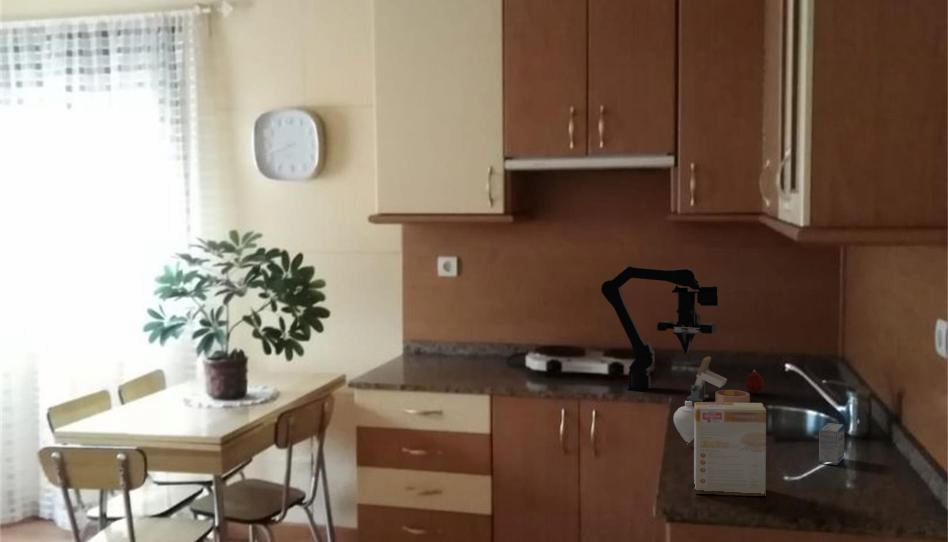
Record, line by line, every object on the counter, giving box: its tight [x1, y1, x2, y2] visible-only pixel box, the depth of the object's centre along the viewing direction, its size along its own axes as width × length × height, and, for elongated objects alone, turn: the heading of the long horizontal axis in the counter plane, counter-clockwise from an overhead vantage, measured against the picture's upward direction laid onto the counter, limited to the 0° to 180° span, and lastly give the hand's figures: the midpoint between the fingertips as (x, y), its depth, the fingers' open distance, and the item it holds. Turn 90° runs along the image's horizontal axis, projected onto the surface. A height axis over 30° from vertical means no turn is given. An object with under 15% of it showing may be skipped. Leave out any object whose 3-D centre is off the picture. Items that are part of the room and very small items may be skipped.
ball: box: [723, 389, 735, 396], centre depth 294 cm, size 4×4×4 cm
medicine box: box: [818, 422, 845, 463], centre depth 229 cm, size 8×4×9 cm, turn 148°
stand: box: [686, 381, 710, 402], centre depth 299 cm, size 5×8×5 cm, turn 150°
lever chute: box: [694, 355, 728, 389], centre depth 297 cm, size 8×6×10 cm
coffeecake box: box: [693, 401, 767, 494], centre depth 206 cm, size 15×7×20 cm, turn 81°
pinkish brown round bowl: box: [714, 389, 751, 403], centre depth 294 cm, size 10×10×3 cm
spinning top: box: [673, 400, 694, 444], centre depth 244 cm, size 8×8×12 cm
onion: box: [744, 369, 764, 395], centre depth 306 cm, size 6×6×8 cm
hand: (686, 352), depth 310 cm, fingers closed
